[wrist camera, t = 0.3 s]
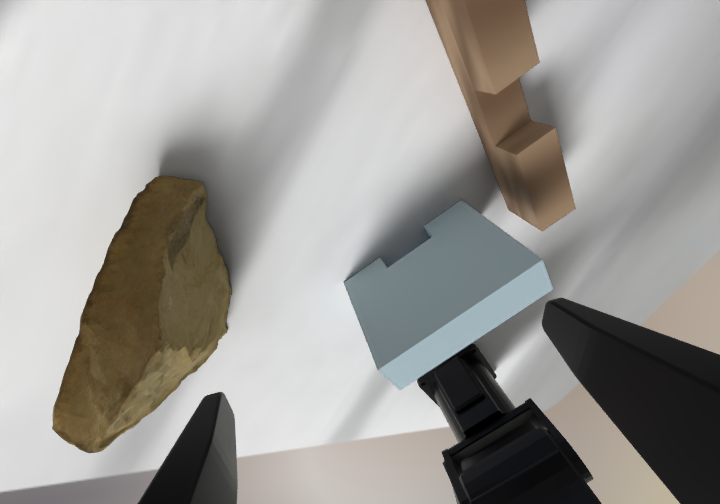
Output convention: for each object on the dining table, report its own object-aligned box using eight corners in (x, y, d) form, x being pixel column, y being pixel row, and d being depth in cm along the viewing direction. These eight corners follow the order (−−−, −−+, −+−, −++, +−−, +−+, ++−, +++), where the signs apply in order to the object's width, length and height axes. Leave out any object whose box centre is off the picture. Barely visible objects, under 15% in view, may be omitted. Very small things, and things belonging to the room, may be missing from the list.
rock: (84, 131, 14) (-12, 321, 16) (198, 247, 11) (64, 472, 13) (258, 196, 24) (189, 309, 26) (345, 268, 21) (260, 392, 22)
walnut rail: (538, 189, 25) (575, 208, 22) (508, 210, 25) (542, 231, 22) (457, -66, 16) (502, -90, 13) (413, -32, 16) (448, -48, 14)
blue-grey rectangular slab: (461, 199, 24) (542, 259, 17) (473, 224, 25) (553, 289, 18) (343, 282, 25) (377, 370, 18) (361, 302, 26) (399, 390, 19)
